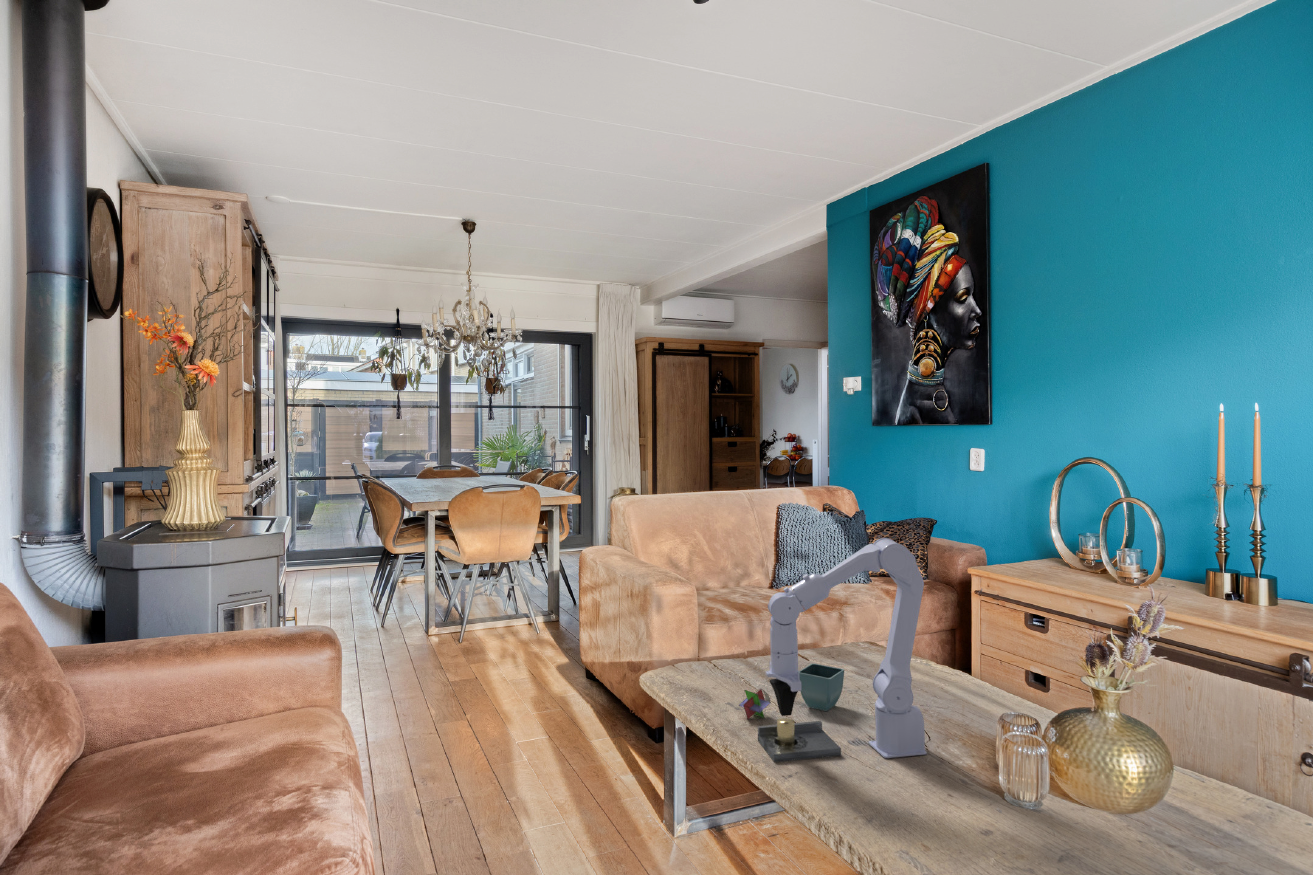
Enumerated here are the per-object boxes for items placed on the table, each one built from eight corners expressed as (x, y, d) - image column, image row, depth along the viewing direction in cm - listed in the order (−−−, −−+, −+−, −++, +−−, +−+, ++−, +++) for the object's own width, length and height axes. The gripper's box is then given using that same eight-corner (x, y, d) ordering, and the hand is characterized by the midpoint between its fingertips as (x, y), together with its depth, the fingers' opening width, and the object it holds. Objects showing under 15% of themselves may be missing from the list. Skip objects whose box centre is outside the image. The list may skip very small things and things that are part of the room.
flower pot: (831, 716, 177) (830, 678, 177) (797, 708, 182) (796, 671, 182) (845, 705, 184) (845, 668, 184) (812, 698, 189) (812, 662, 189)
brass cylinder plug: (791, 745, 160) (790, 717, 160) (797, 752, 157) (796, 723, 157) (775, 746, 160) (774, 718, 160) (780, 753, 156) (780, 725, 156)
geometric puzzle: (749, 717, 171) (763, 685, 174) (728, 709, 176) (742, 678, 179) (767, 730, 174) (780, 698, 178) (745, 721, 180) (759, 690, 183)
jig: (820, 735, 165) (820, 720, 165) (841, 755, 154) (840, 740, 155) (757, 740, 163) (757, 726, 163) (774, 762, 152) (773, 746, 152)
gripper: (755, 642, 165) (757, 704, 165) (777, 661, 150) (778, 728, 150) (786, 640, 166) (787, 701, 166) (810, 659, 152) (812, 725, 152)
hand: (785, 714), depth 158 cm, fingers closed
